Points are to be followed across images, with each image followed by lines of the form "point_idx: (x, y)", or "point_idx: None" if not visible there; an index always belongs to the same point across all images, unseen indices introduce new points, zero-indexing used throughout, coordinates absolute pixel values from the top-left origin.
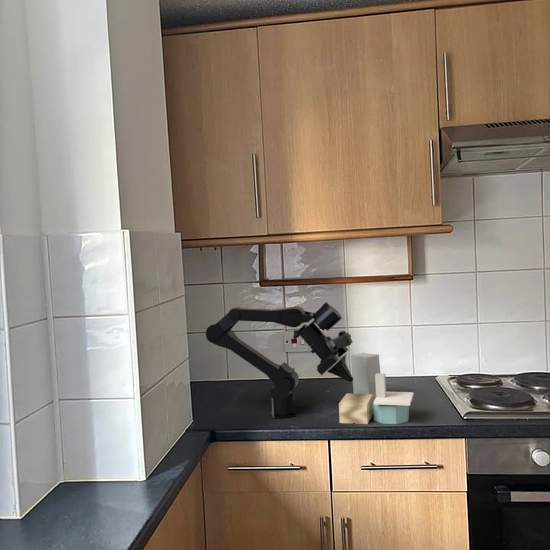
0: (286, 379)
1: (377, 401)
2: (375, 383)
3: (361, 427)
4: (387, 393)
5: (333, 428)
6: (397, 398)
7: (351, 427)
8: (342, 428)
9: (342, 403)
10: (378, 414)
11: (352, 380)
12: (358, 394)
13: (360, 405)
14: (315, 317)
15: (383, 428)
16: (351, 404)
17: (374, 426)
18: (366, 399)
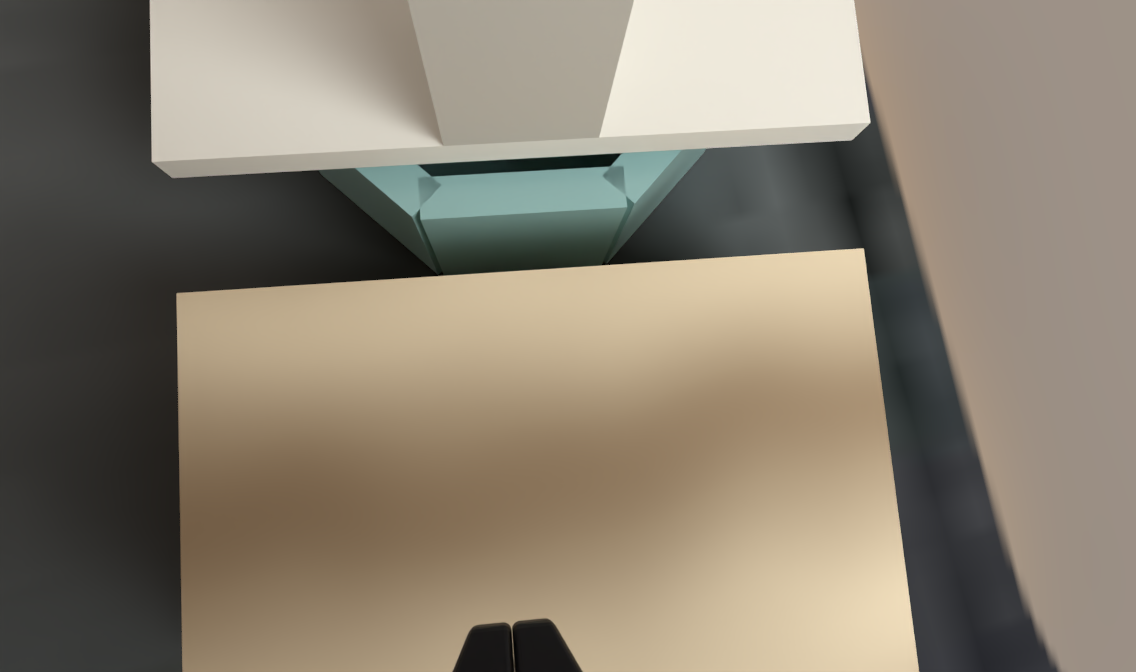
0: None
1: (847, 67)
2: (629, 9)
3: (901, 342)
4: (288, 3)
5: (1028, 647)
6: None
7: (932, 452)
8: (997, 543)
9: (901, 654)
10: (681, 168)
11: (554, 631)
12: (234, 545)
13: (866, 349)
14: None
15: (869, 109)
16: (894, 492)
17: (827, 213)
18: (558, 322)
